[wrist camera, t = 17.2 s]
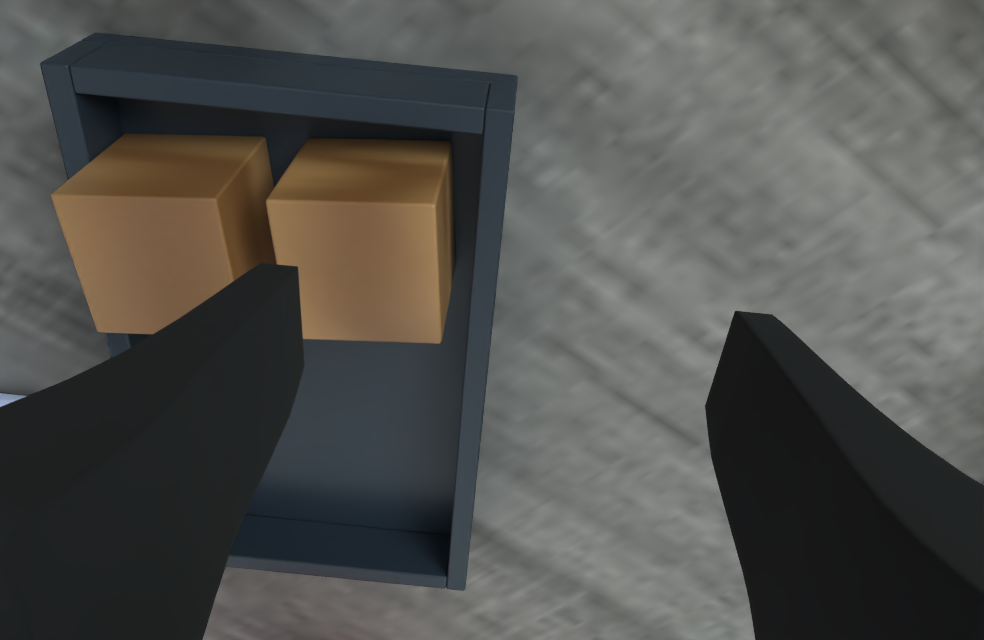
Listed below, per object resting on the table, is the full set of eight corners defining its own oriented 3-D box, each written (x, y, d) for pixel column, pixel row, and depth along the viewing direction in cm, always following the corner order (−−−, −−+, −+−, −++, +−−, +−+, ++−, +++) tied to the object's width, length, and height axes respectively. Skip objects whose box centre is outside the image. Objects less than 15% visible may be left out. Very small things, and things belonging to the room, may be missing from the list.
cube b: (324, 262, 24) (289, 340, 20) (306, 136, 21) (263, 200, 18) (456, 267, 23) (441, 345, 20) (452, 139, 21) (435, 204, 18)
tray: (188, 503, 31) (159, 560, 29) (94, 31, 21) (38, 62, 19) (470, 532, 31) (464, 591, 29) (517, 74, 21) (514, 110, 19)
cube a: (158, 258, 24) (96, 333, 21) (124, 132, 22) (48, 194, 18) (287, 261, 24) (245, 338, 20) (266, 135, 21) (215, 199, 18)
